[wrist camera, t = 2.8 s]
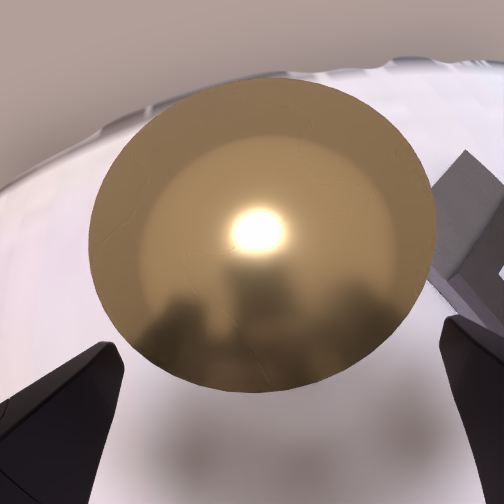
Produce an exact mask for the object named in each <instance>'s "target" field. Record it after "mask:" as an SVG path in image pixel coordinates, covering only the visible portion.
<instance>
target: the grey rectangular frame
mask: <svg viewBox="0 0 504 504" xmlns="http://www.w3.org/2000/svg"><path fill="white" fill-rule="evenodd" d="M431 190H432V194H433V198H434V204H435V212H436V221H437V222H436V244H435V250H434V255H433V260H432V264H431V268H430V271H429V274H428V276H427V279H428V280H429V281H430V282H431V283H432V285H433V286H434V287H435V288H436V289H437V290H438V291H439V292H440V293H441V294H442V295H443V296H444V297H445V299H446V300H447V301H448V302H449V303H450V304H451V305H452V306H453V308H454V309H455V310H456V311H457V312H458V313H459V314H460V315H462V316H464V317H466V318H468V319H470V320H472V321H473V322H475V323H477V324H479V325H481V326H483V327H485V328H487V329H489V330H491V331H493V332H495V333H497V334H499V335H501V336H502V337H504V280H503V279H502V278H501V277H500V276H499V272H500V270H501V269H502V267H503V265H504V185H503V184H502V183H501V182H500V181H499V180H498V179H497V178H496V177H495V176H494V175H493V174H492V173H491V172H490V171H489V170H488V169H487V168H486V167H485V166H483V165H482V164H481V163H480V162H479V161H478V160H477V159H476V158H475V157H473V156H472V155H471V154H470V153H469V152H468V151H467V150H464V152H463V153H462V154H461V155H460V156H459V157H458V159H457V160H456V161H455V162H454V163H453V164H452V166H451V167H450V168H449V169H448V170H447V171H446V172H445V173H444V175H443V176H442V177H441V178H440V179H439V180H438V181H437V182H436V184H435V185H434V186H433V187H432V188H431Z"/></svg>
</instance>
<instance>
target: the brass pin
mask: <svg viewBox="0 0 504 504" xmlns="http://www.w3.org/2000/svg"><path fill="white" fill-rule="evenodd" d="M436 222H437V221H436V212H435V204H434V198H433V194H432V190H431V187H430V183H429V180H428V177H427V175H426V173H425V170H424V168H423V166H422V164H421V162H420V160H419V158H418V157H417V155H416V153H415V152H414V150H413V148H412V147H411V145H410V144H409V143H408V141H407V140H406V139H405V138H404V136H403V135H402V134H401V133H400V132H399V130H398V129H397V128H396V127H395V126H393V125H392V124H391V123H390V122H389V121H388V120H387V119H386V118H385V117H384V116H382V115H381V114H380V113H378V112H377V111H376V110H374V109H373V108H372V107H370V106H369V105H367V104H365V103H364V102H362V101H360V100H358V99H357V98H355V97H353V96H351V95H349V94H346V93H344V92H342V91H339V90H337V89H334V88H331V87H328V86H325V85H322V84H318V83H313V82H308V81H303V80H296V79H287V78H259V79H248V80H242V81H236V82H231V83H227V84H223V85H219V86H216V87H212V88H209V89H207V90H204V91H202V92H199V93H196V94H194V95H192V96H190V97H188V98H186V99H184V100H182V101H180V102H178V103H176V104H175V105H173V106H171V107H170V108H168V109H166V110H165V111H163V112H162V113H161V114H159V115H158V116H157V117H155V118H154V119H153V120H151V121H150V122H149V123H148V124H147V125H145V126H144V127H143V128H142V129H141V130H140V131H139V132H138V133H137V134H136V135H135V136H134V137H133V138H132V139H131V140H130V141H129V143H128V144H127V145H126V146H125V147H124V148H123V150H122V151H121V152H120V154H119V155H118V157H117V158H116V159H115V161H114V162H113V164H112V165H111V167H110V169H109V171H108V173H107V174H106V176H105V178H104V180H103V182H102V185H101V187H100V189H99V192H98V194H97V197H96V200H95V204H94V207H93V211H92V215H91V221H90V228H89V248H88V252H89V261H90V269H91V274H92V278H93V282H94V285H95V289H96V292H97V295H98V297H99V299H100V301H101V304H102V306H103V308H104V310H105V312H106V314H107V315H108V317H109V318H110V320H111V322H112V323H113V325H114V326H115V328H116V329H117V331H118V332H119V333H120V334H121V335H122V336H123V337H124V338H125V340H126V341H127V342H128V343H129V344H130V345H131V346H132V347H133V348H134V349H135V350H136V351H138V352H139V353H140V354H141V355H142V356H144V357H145V358H146V359H147V360H149V361H150V362H151V363H153V364H154V365H156V366H158V367H160V368H161V369H163V370H165V371H166V372H168V373H170V374H172V375H173V376H176V377H178V378H181V379H183V380H186V381H189V382H191V383H194V384H197V385H199V386H204V387H208V388H213V389H218V390H222V391H228V392H244V393H263V392H273V391H283V390H289V389H293V388H297V387H301V386H305V385H308V384H312V383H316V382H319V381H321V380H323V379H326V378H328V377H330V376H332V375H335V374H337V373H339V372H341V371H344V370H346V369H347V368H349V367H350V366H352V365H354V364H355V363H357V362H358V361H360V360H361V359H363V358H364V357H366V356H367V355H369V354H370V353H372V352H373V351H374V350H375V349H376V348H377V347H378V346H379V345H381V344H382V343H383V342H384V341H385V340H386V339H387V338H388V337H389V336H391V335H392V333H393V332H394V331H395V330H396V329H397V327H398V326H399V325H400V324H401V323H402V321H403V320H404V319H405V318H406V316H407V315H408V314H409V312H410V311H411V309H412V307H413V306H414V304H415V302H416V300H417V299H418V297H419V295H420V293H421V291H422V289H423V287H424V284H425V282H426V279H427V276H428V274H429V271H430V268H431V264H432V260H433V255H434V250H435V244H436Z"/></svg>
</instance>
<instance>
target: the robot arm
mask: <svg viewBox="0 0 504 504" xmlns="http://www.w3.org/2000/svg"><path fill="white" fill-rule="evenodd" d="M439 348H440V352H441V355H442V359H443V362H444V365H445V369H446V372H447V376H448V380H449V383H450V387H451V391H452V394H453V397H454V400H455V403H456V405H457V408H458V411H459V414H460V416H461V419H462V422H463V425H464V428H465V431H466V434H467V437H468V440H469V443H470V446H471V449H472V453H473V456H474V459H475V463H476V466H477V470H478V474H479V477H480V481H481V485H482V489H483V493H484V497H485V502H486V504H504V337H502V336H501V335H499V334H497V333H495V332H493V331H491V330H489V329H487V328H485V327H483V326H481V325H479V324H477V323H475V322H473V321H472V320H470V319H468V318H466V317H464V316H462V315H453V316H448V317H447V318H446V319H445V321H444V325H443V329H442V333H441V337H440V341H439ZM124 369H125V368H124V363H123V361H122V359H121V356H120V354H119V352H118V350H117V348H116V346H115V344H114V343H113V342H105V341H101V342H98V343H97V344H95V345H94V346H92V347H90V348H89V349H87V350H85V351H84V352H82V353H81V354H79V355H77V356H76V357H74V358H73V359H71V360H69V361H68V362H66V363H65V364H63V365H61V366H60V367H58V368H56V369H55V370H53V371H52V372H50V373H48V374H47V375H45V376H44V377H42V378H40V379H39V380H37V381H36V382H34V383H32V384H31V385H29V386H28V387H26V388H24V389H23V390H21V391H20V392H18V393H16V394H15V395H13V396H12V397H10V399H7V400H5V401H3V402H2V403H0V504H88V502H89V498H90V495H91V491H92V487H93V484H94V480H95V476H96V473H97V469H98V466H99V463H100V459H101V456H102V452H103V449H104V446H105V443H106V440H107V436H108V433H109V430H110V427H111V424H112V421H113V417H114V414H115V410H116V406H117V401H118V397H119V392H120V388H121V383H122V379H123V375H124Z"/></svg>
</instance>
